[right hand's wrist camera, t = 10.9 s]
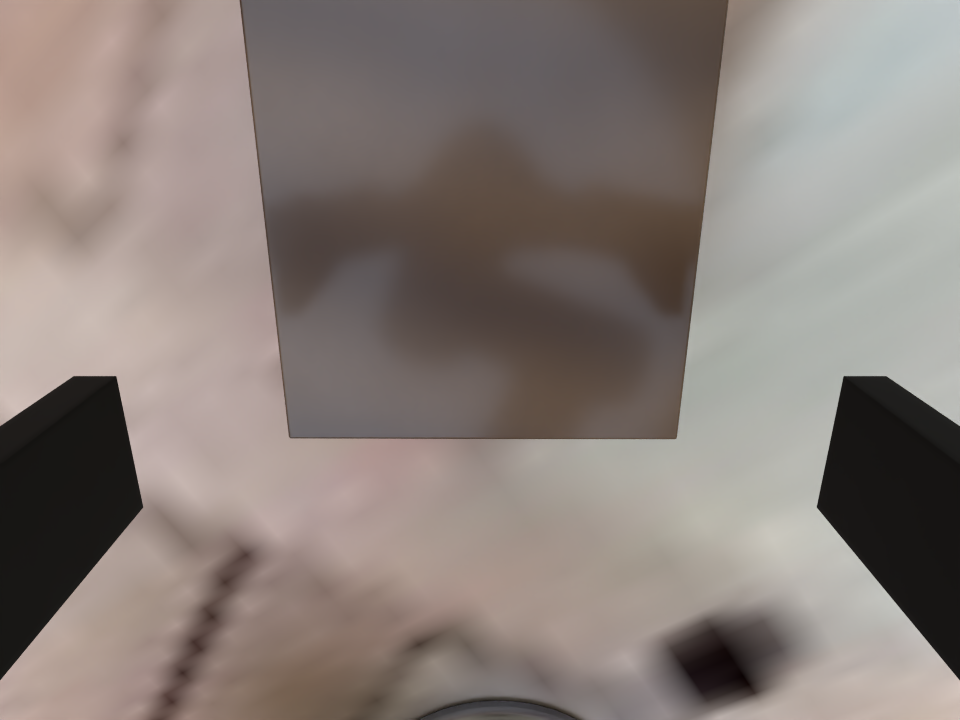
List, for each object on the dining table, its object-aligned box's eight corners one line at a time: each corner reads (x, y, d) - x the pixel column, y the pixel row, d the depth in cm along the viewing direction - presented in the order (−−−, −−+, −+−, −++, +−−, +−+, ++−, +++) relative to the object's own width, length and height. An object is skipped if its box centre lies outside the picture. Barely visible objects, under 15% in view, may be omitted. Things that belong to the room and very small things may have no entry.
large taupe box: (317, -290, 22) (166, -642, 12) (650, -290, 22) (806, -644, 12) (357, 316, 30) (288, 439, 19) (607, 316, 30) (677, 439, 19)
